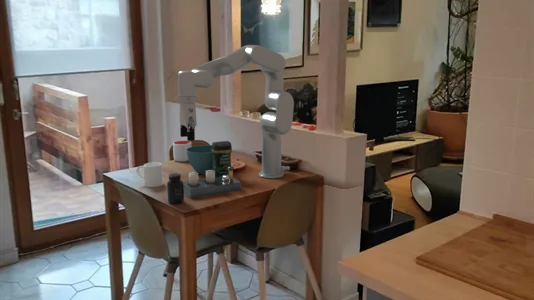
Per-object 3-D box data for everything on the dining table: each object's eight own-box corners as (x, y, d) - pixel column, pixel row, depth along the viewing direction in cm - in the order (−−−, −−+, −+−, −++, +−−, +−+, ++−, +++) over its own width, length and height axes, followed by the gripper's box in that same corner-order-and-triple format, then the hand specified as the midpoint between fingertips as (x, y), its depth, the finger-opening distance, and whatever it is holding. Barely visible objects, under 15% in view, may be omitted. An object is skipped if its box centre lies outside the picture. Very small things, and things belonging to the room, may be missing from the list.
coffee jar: (215, 182, 250) (215, 144, 246) (210, 177, 257) (209, 140, 253) (234, 179, 254) (234, 142, 250) (228, 175, 261) (227, 139, 257)
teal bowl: (180, 171, 268) (179, 148, 265) (209, 165, 279) (208, 143, 277) (200, 179, 254) (199, 154, 252) (230, 172, 266) (229, 149, 263)
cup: (195, 159, 293) (195, 141, 290) (183, 163, 284) (183, 145, 282) (181, 157, 298) (181, 139, 295) (169, 160, 290) (169, 143, 287)
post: (232, 181, 238) (232, 166, 236) (234, 182, 235) (234, 167, 234) (227, 181, 236) (226, 166, 235) (229, 183, 234) (229, 168, 233)
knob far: (196, 182, 235) (196, 171, 234) (199, 185, 232) (199, 173, 231) (188, 183, 233) (187, 172, 232) (191, 186, 230) (190, 175, 229)
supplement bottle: (185, 199, 225) (184, 172, 222) (183, 204, 218) (182, 177, 216) (169, 199, 225) (167, 172, 222) (166, 204, 218) (165, 177, 215)
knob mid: (213, 180, 239) (212, 169, 238) (216, 182, 235) (216, 171, 234) (204, 181, 237) (204, 170, 236) (208, 183, 234) (207, 172, 232)
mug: (140, 181, 251) (139, 161, 248) (164, 182, 249) (163, 162, 247) (134, 186, 243) (132, 166, 241) (159, 187, 241) (158, 167, 239)
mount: (229, 183, 248) (229, 171, 247) (241, 190, 237) (240, 178, 236) (180, 190, 237) (180, 178, 236) (190, 198, 226) (190, 185, 225)
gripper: (202, 101, 221) (202, 141, 224) (189, 97, 236) (189, 134, 239) (184, 102, 217) (185, 142, 221) (172, 97, 232) (173, 135, 236)
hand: (187, 138), depth 230 cm, fingers open, 9 cm apart
